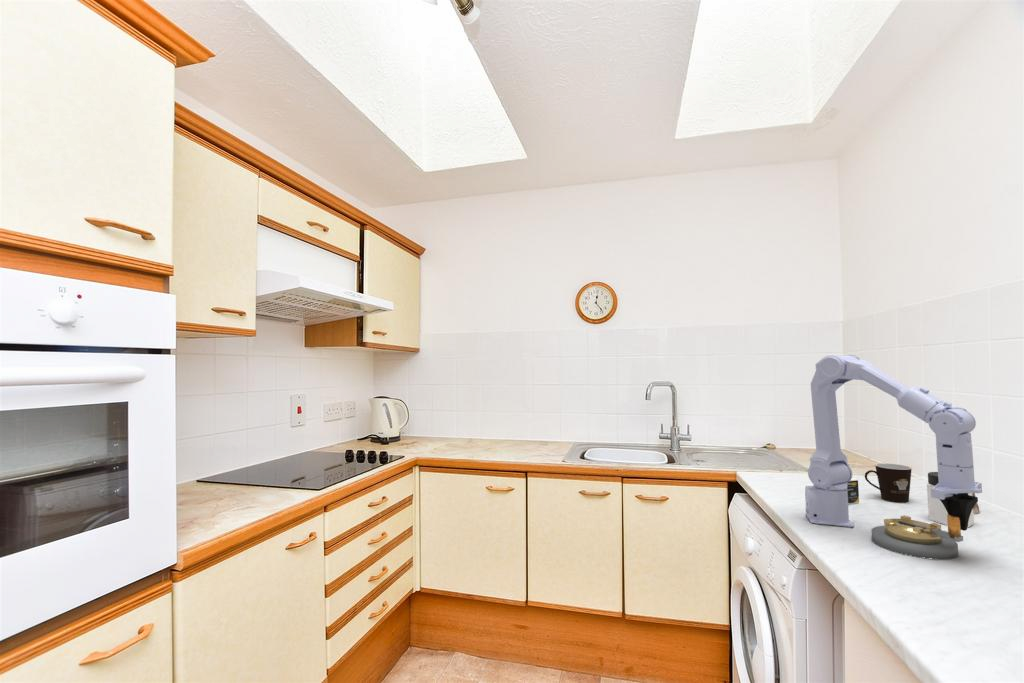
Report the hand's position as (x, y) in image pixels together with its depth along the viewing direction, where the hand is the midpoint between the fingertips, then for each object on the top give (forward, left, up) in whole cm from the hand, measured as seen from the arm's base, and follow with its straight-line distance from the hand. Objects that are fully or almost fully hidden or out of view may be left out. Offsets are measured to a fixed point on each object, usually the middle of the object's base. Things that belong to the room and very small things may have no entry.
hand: (959, 529), depth 101 cm
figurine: (+15, +40, -6) cm, 44 cm away
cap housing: (-7, +4, -6) cm, 10 cm away
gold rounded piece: (-5, +3, -4) cm, 7 cm away
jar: (+8, +27, -6) cm, 29 cm away
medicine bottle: (-14, +39, -6) cm, 42 cm away
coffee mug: (0, +46, -6) cm, 47 cm away
